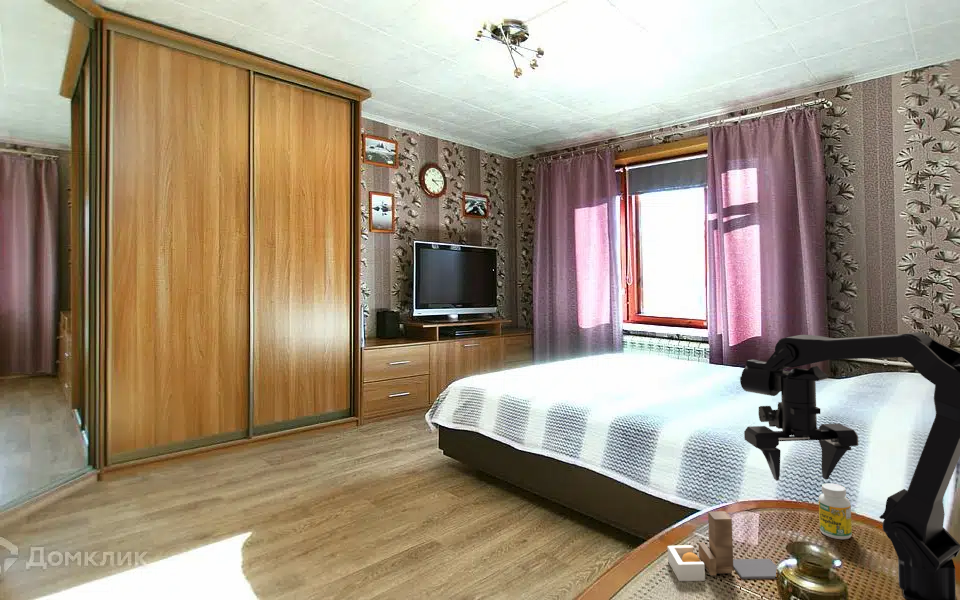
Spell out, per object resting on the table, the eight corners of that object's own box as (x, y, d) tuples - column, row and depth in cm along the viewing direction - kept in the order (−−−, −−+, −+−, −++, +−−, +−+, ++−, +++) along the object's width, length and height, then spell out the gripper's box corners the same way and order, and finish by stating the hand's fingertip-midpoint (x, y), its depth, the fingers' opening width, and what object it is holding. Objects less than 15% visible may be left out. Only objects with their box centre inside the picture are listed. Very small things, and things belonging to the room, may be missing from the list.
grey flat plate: (769, 560, 96) (769, 558, 96) (785, 578, 90) (785, 575, 90) (728, 561, 96) (728, 559, 96) (741, 578, 91) (741, 576, 91)
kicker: (723, 557, 96) (721, 508, 96) (736, 575, 91) (734, 522, 90) (699, 558, 96) (697, 508, 96) (710, 575, 91) (708, 522, 90)
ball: (675, 556, 94) (682, 572, 94) (689, 561, 92) (696, 577, 92) (686, 546, 96) (692, 562, 96) (700, 551, 93) (706, 567, 93)
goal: (692, 560, 97) (691, 545, 97) (705, 580, 91) (704, 564, 90) (668, 561, 97) (667, 545, 97) (679, 581, 91) (678, 564, 91)
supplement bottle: (856, 534, 103) (855, 487, 103) (845, 543, 100) (843, 494, 100) (826, 524, 108) (824, 479, 107) (814, 532, 105) (813, 486, 104)
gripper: (823, 389, 107) (825, 463, 108) (731, 392, 108) (733, 465, 109) (859, 402, 96) (861, 484, 96) (756, 405, 97) (759, 486, 98)
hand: (800, 479), depth 100 cm, fingers open, 9 cm apart
